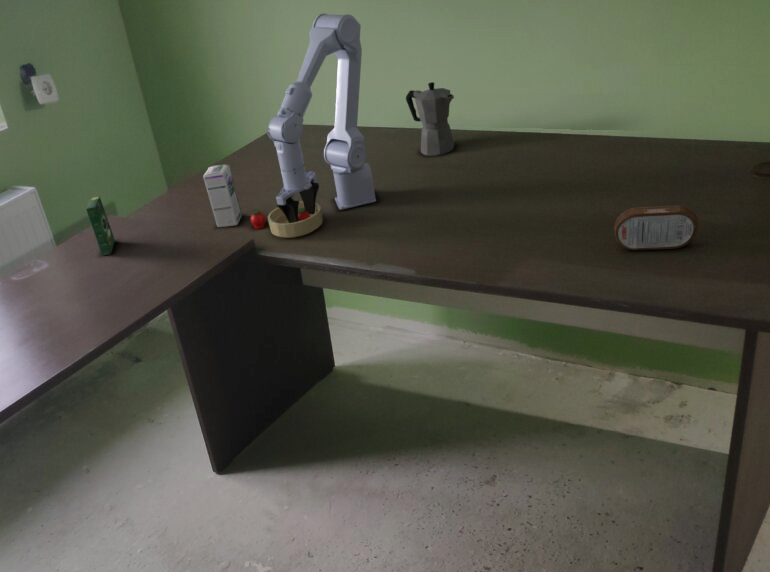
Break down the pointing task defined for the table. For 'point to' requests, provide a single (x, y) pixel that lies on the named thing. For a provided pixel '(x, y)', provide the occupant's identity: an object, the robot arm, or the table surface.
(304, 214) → the strawberry
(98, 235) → the coffee box
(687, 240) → the tin
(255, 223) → the strawberry
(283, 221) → the bowl
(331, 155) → the robot arm
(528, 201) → the table surface
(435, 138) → the coffeepot
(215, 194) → the white carton
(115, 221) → the table surface
